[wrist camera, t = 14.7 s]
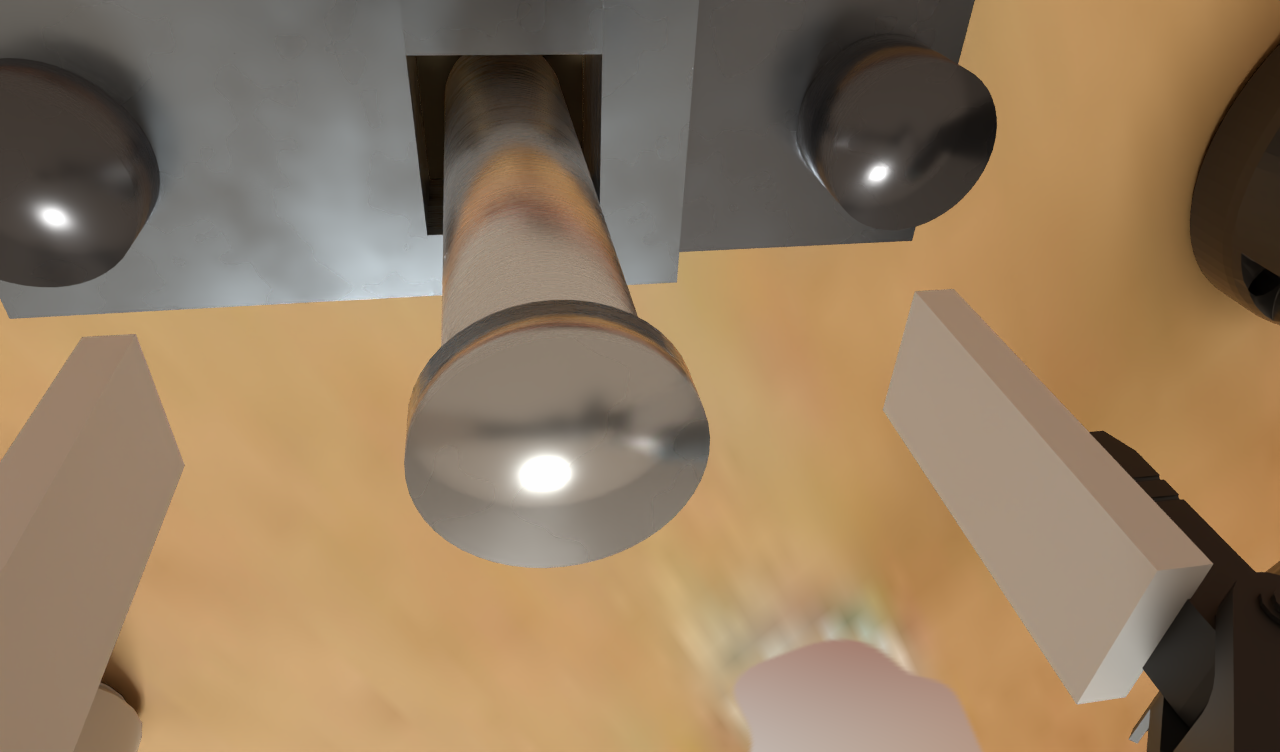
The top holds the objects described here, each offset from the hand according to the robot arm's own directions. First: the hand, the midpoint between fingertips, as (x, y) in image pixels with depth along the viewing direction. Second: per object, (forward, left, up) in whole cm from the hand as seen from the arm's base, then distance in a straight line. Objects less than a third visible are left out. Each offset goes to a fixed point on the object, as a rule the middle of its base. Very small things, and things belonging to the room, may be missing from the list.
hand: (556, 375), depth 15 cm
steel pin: (0, 0, -15) cm, 15 cm away
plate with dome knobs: (0, 0, -15) cm, 15 cm away
